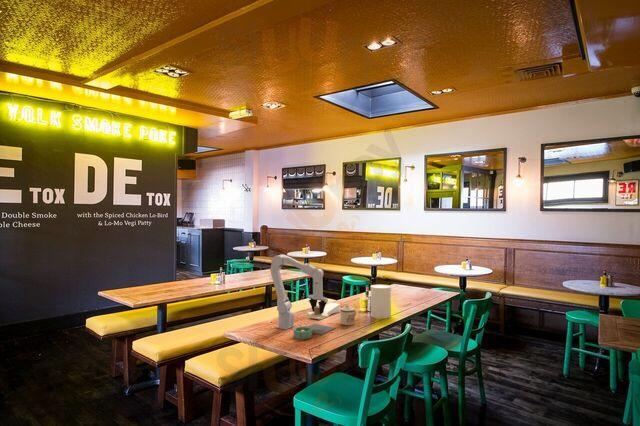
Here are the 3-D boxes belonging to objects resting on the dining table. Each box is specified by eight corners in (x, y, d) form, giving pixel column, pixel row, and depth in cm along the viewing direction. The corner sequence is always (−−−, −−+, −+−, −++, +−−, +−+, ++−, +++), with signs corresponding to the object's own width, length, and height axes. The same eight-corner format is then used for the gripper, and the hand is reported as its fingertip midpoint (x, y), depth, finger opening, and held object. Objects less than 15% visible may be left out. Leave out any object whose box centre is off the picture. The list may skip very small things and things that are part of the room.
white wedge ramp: (319, 329, 251) (340, 314, 275) (321, 319, 250) (342, 304, 273) (307, 323, 256) (328, 308, 280) (308, 313, 254) (330, 299, 278)
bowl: (301, 332, 224) (301, 325, 224) (315, 335, 219) (315, 328, 219) (290, 337, 216) (290, 330, 216) (304, 340, 210) (304, 333, 210)
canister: (376, 319, 253) (376, 288, 253) (367, 314, 266) (367, 285, 266) (394, 317, 257) (394, 287, 257) (385, 312, 270) (384, 283, 270)
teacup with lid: (347, 326, 237) (347, 307, 237) (337, 323, 243) (337, 304, 244) (360, 322, 245) (360, 304, 245) (350, 319, 252) (350, 301, 252)
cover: (307, 313, 234) (307, 305, 235) (325, 312, 236) (325, 304, 236) (309, 317, 224) (309, 309, 224) (328, 317, 225) (328, 308, 225)
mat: (314, 324, 240) (314, 323, 240) (335, 328, 232) (335, 327, 232) (300, 330, 228) (300, 329, 228) (321, 335, 219) (321, 334, 219)
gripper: (304, 288, 232) (304, 311, 232) (321, 292, 222) (321, 315, 222) (313, 287, 237) (313, 309, 237) (330, 290, 227) (330, 313, 227)
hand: (317, 312), depth 230 cm, fingers closed on cover, 6 cm apart
